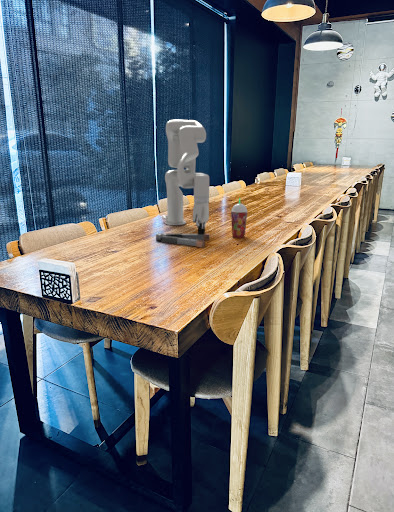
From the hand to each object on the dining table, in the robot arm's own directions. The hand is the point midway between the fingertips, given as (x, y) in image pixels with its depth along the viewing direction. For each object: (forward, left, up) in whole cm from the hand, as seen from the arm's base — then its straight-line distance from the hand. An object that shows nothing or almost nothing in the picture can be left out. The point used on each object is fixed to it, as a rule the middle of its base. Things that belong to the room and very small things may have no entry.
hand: (201, 235), depth 191 cm
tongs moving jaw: (-6, -8, -1) cm, 10 cm away
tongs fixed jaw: (-2, -16, -1) cm, 16 cm away
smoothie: (+16, +11, -1) cm, 20 cm away
